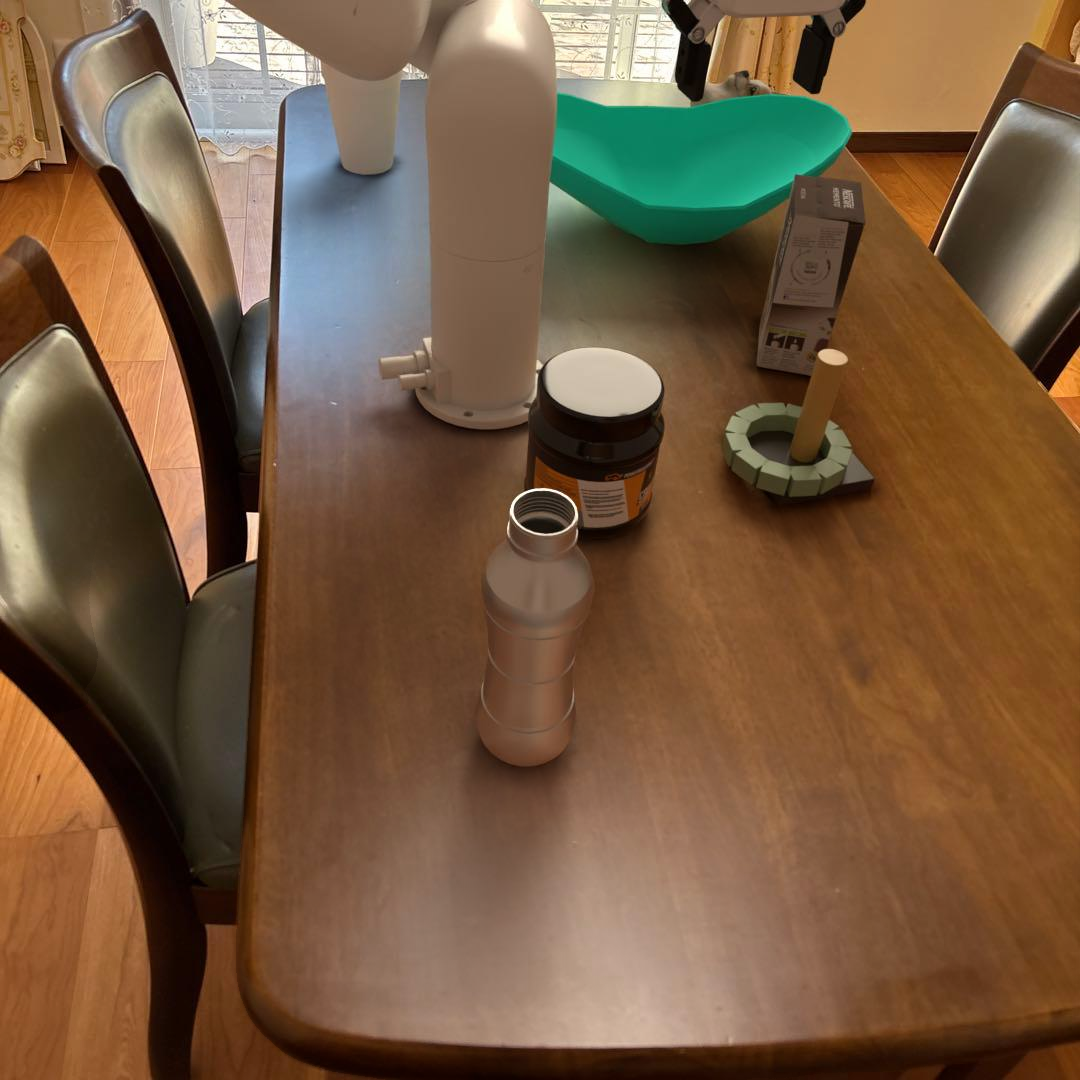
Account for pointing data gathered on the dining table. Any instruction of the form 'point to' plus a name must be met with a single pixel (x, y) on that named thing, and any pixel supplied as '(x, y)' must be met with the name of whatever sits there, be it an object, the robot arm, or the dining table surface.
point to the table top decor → (691, 161)
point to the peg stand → (813, 432)
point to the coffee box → (810, 272)
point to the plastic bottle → (533, 630)
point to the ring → (776, 474)
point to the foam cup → (363, 119)
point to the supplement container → (597, 436)
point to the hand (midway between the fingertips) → (748, 91)
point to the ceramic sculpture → (733, 88)
